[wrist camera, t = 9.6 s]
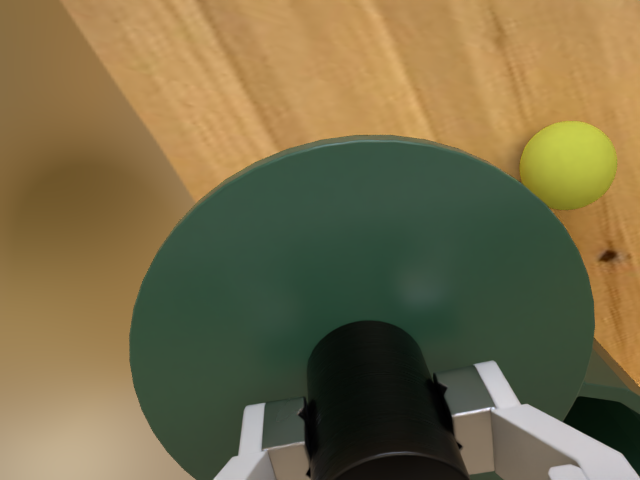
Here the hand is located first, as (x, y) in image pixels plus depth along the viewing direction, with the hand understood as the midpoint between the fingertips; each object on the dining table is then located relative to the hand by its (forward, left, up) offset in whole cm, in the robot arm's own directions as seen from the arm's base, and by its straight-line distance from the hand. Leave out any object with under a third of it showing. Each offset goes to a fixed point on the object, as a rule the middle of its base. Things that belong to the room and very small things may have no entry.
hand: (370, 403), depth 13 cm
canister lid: (0, 0, -2) cm, 2 cm away
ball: (-14, +2, -19) cm, 24 cm away
